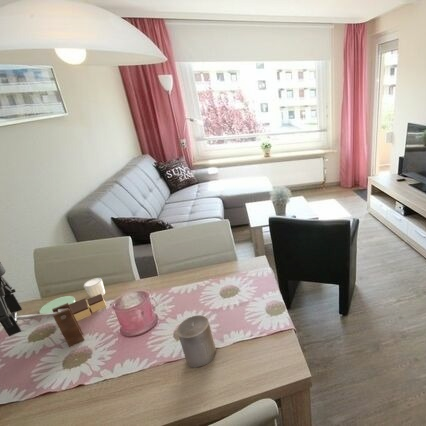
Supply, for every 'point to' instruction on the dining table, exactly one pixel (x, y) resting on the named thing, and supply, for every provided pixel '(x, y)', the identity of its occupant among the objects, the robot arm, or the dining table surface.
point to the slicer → (34, 315)
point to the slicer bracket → (68, 325)
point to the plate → (57, 303)
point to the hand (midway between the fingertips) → (16, 321)
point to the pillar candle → (197, 341)
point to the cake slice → (96, 303)
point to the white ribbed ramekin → (94, 287)
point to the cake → (80, 309)
